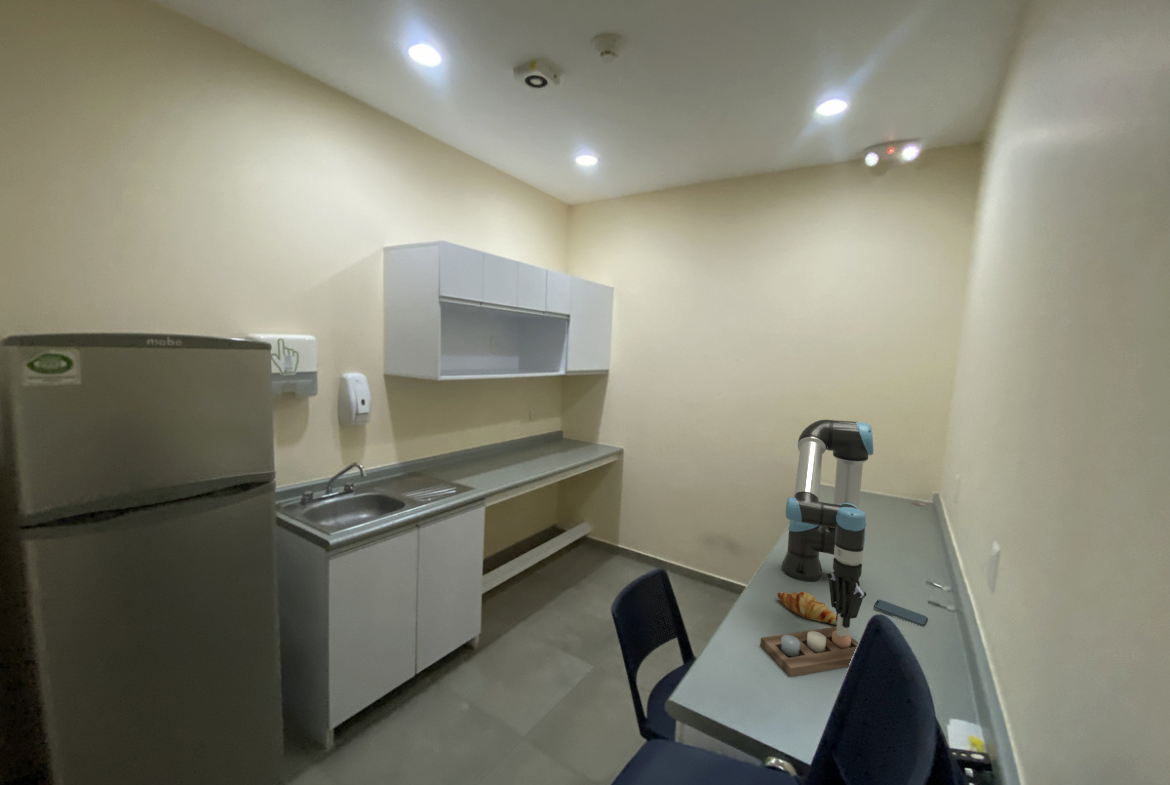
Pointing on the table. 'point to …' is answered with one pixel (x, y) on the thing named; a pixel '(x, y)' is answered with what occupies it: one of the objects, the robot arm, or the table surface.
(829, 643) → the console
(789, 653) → the slate button
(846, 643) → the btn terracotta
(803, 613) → the croissant
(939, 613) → the table surface
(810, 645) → the cream button
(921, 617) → the smartphone
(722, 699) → the table surface
